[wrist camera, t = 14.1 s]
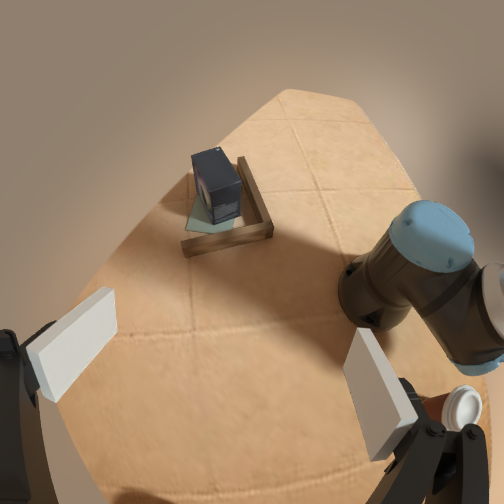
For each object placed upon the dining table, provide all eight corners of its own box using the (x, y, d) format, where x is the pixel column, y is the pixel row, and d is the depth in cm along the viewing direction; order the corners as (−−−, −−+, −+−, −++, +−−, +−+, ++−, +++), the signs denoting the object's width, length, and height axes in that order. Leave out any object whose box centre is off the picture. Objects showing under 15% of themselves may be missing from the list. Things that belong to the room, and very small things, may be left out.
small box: (194, 190, 59) (188, 154, 50) (222, 181, 61) (220, 144, 52) (211, 227, 55) (207, 191, 45) (242, 216, 56) (243, 179, 47)
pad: (241, 187, 60) (241, 186, 60) (230, 236, 54) (230, 235, 54) (201, 182, 61) (201, 181, 60) (185, 230, 54) (185, 229, 54)
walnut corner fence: (243, 167, 64) (244, 156, 60) (272, 237, 54) (274, 227, 51) (171, 182, 60) (168, 171, 57) (185, 257, 51) (182, 248, 48)
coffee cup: (405, 401, 39) (446, 397, 29) (440, 384, 40) (481, 374, 30) (413, 443, 35) (454, 447, 24) (447, 423, 36) (488, 420, 26)
